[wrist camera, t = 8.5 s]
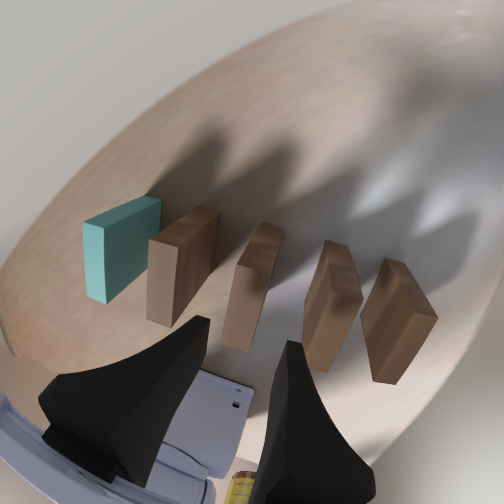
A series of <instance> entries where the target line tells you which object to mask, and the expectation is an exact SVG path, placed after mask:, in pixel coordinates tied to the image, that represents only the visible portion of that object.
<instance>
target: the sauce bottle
mask: <svg viewBox="0 0 504 504" xmlns="http://www.w3.org/2000/svg"><path fill="white" fill-rule="evenodd" d="M255 477H256V472H251V471H250V472H249V471H240V472H237V473H235V474H234V475H233V477H232V480H231V482H230V485H229V488H228V491H227V495H226V498H225V501H224V504H247V503H248V500H249V497H250V494H251V490H252V487H253V484H254V480H255Z"/></svg>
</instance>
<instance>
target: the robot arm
mask: <svg viewBox="0 0 504 504" xmlns="http://www.w3.org/2000/svg"><path fill="white" fill-rule="evenodd" d="M209 327H210V319H208V318H205V317H202V316H198V315H196V316H194V317H193V318H192V319H190V320H189V321H188V322H186V323H185V324H184V325H182V326H181V327H180V328H178V329H177V330H176V331H174V332H173V333H171V334H170V335H168V336H167V337H165V338H164V339H162V340H161V341H159V342H157V343H156V344H154V345H152V346H150V347H149V348H147V349H145V350H143V351H141V352H139V353H137V354H135V355H133V356H131V357H128V358H126V359H123V360H121V361H118V362H116V363H113V364H110V365H107V366H103V367H100V368H96V369H92V370H87V371H82V372H76V373H69V374H60V375H58V376H57V377H56V378H54V379H53V380H52V382H51V383H50V384H49V385H48V386H47V387H46V388H45V390H44V391H43V392H42V393H41V394H40V395H39V397H38V400H39V404H40V406H41V408H42V410H43V412H44V413H45V415H46V417H47V419H48V420H49V421H50V423H51V425H50V426H49V427H48V429H47V430H46V431H45V432H44V431H43V430H41V429H40V428H39V427H38V426H37V425H35V424H34V423H33V422H31V421H30V420H29V419H27V418H26V417H25V416H24V415H23V414H22V413H20V412H19V411H18V410H17V409H16V408H14V407H13V406H12V405H11V402H10V401H9V399H8V397H7V396H6V395H5V393H4V392H3V391H2V390H1V389H0V458H1V459H2V460H3V461H4V462H5V463H6V464H7V465H8V466H10V467H11V468H12V469H13V470H14V471H15V472H16V473H17V474H18V475H20V476H21V477H22V478H23V479H24V480H26V481H27V482H28V483H29V484H30V485H32V486H33V487H34V488H35V489H37V490H38V491H39V492H41V493H42V494H43V495H45V496H46V497H47V498H49V499H50V500H51V501H53V502H55V503H56V504H215V500H216V489H215V487H214V484H213V482H212V481H211V480H208V479H207V477H213V478H217V479H224V478H225V476H226V475H227V473H228V471H229V469H230V467H231V465H232V462H233V460H234V457H235V455H236V452H237V449H238V446H239V443H240V439H241V436H242V432H243V429H244V427H245V423H246V418H247V414H248V410H249V407H250V403H251V399H252V397H253V395H254V390H253V389H251V388H249V387H246V386H243V385H240V384H237V383H234V382H231V381H229V380H226V379H223V378H220V377H218V376H215V375H213V374H210V373H207V372H205V371H202V370H200V367H201V364H202V362H203V359H204V357H205V354H206V349H207V341H208V334H209ZM375 487H376V485H375V478H374V473H373V470H372V469H371V468H370V467H369V466H368V465H367V464H366V463H365V462H364V461H363V460H362V459H361V458H360V457H359V456H358V455H357V454H356V453H355V451H354V450H353V449H352V448H351V447H350V446H349V444H348V443H347V442H346V440H345V439H344V437H343V436H342V435H341V433H340V432H339V431H338V429H337V428H336V426H335V424H334V423H333V421H332V420H331V418H330V416H329V414H328V412H327V411H326V409H325V407H324V405H323V403H322V401H321V399H320V396H319V394H318V392H317V389H316V387H315V384H314V382H313V379H312V376H311V373H310V370H309V367H308V364H307V360H306V357H305V352H304V348H303V345H302V343H298V342H294V341H289V340H287V342H286V345H285V348H284V351H283V353H282V356H281V359H280V362H279V365H278V367H277V370H276V373H275V377H274V381H273V385H272V390H271V395H270V404H269V412H268V421H267V429H266V436H265V442H264V446H263V450H262V454H261V458H260V462H259V466H258V470H257V473H256V477H255V480H254V484H253V487H252V490H251V494H250V497H249V500H248V503H247V504H366V503H368V502H369V501H371V500H372V499H373V498H374V497H375V494H376V488H375Z"/></svg>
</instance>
